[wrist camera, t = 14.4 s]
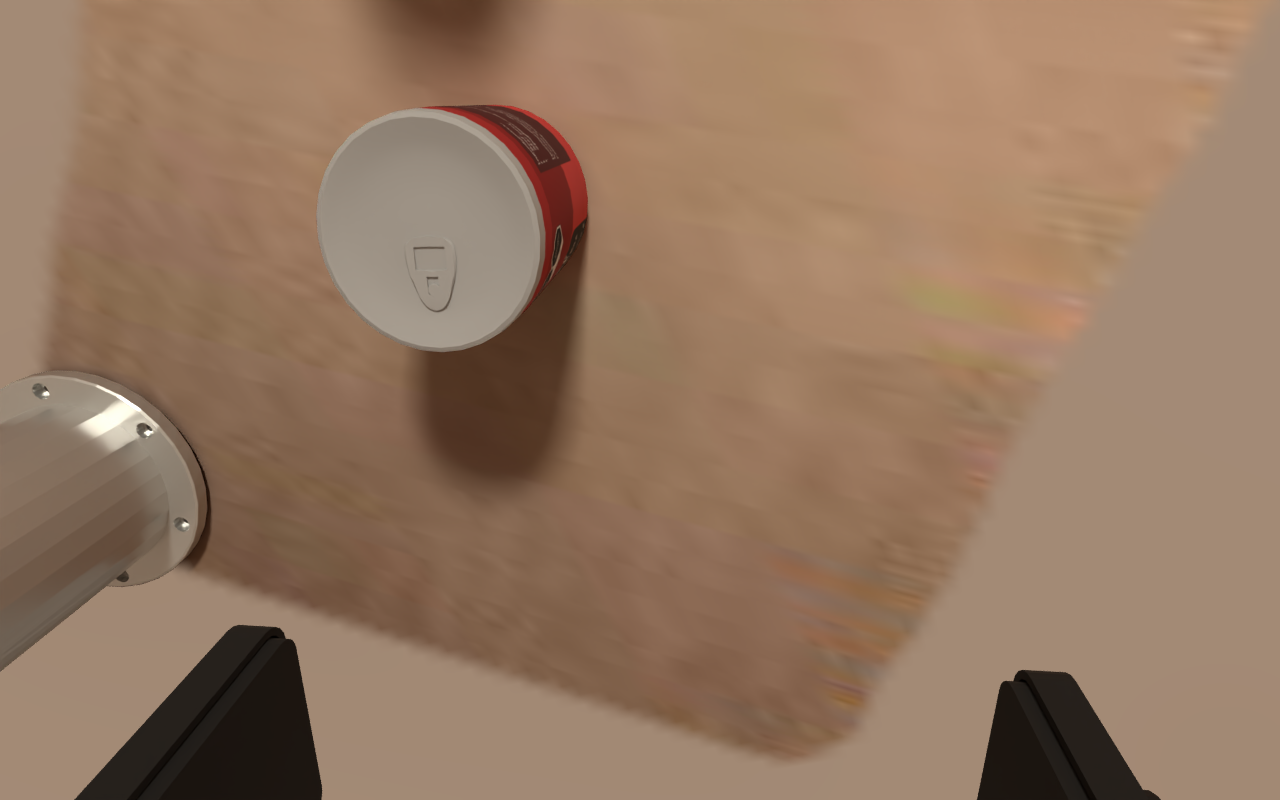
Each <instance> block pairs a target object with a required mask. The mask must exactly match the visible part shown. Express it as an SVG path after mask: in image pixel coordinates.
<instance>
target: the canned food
mask: <svg viewBox="0 0 1280 800" xmlns="http://www.w3.org/2000/svg"><path fill="white" fill-rule="evenodd" d="M587 204H588V197H587V190H586V183H585V179H584V176H583V173H582V170H581V167H580V164H579V161H578V160H577V158H576V156H575V154H574V152H573V150H572V149H571V147H570V145H569V144H568V143H567V142H566V140H565V139H564V138H563V137H562V136H561V134H560V133H559V132H558V131H557V130H556V129H554V128H553V127H552V126H551V125H550V124H549V123H547V122H546V121H545V120H543V119H542V118H540V117H538V116H536V115H534V114H532V113H531V112H529V111H526V110H522V109H519V108H516V107H512V106H501V105H474V106H435V107H423V108H414V109H407V110H400V111H395V112H392V113H390V114H387V115H385V116H382V117H380V118H377V119H375V120H373V121H370V122H368V123H367V124H365V125H364V126H362V127H361V128H360V129H358V130H357V131H355V132H354V133H353V134H351V135H350V136H349V137H348V139H347V140H346V141H345V142H344V143H343V144H342V145H341V146H340V148H339V149H338V150H337V151H336V153H335V154H334V156H333V158H332V160H331V162H330V164H329V165H328V167H327V169H326V171H325V174H324V177H323V180H322V184H321V187H320V190H319V195H318V205H317V215H316V217H317V229H318V240H319V244H320V248H321V252H322V255H323V259H324V263H325V265H326V267H327V269H328V272H329V274H330V276H331V278H332V280H333V283H334V285H335V286H336V288H337V289H338V291H339V292H340V294H341V295H342V297H343V298H344V300H345V301H346V302H347V304H348V305H349V306H350V307H351V308H352V309H353V310H354V311H355V312H356V313H357V314H358V316H359V317H360V318H361V319H362V320H363V321H365V322H366V323H367V324H369V325H370V326H371V327H372V328H374V329H375V330H376V331H378V332H379V333H380V334H382V335H384V336H386V337H388V338H390V339H392V340H394V341H396V342H398V343H400V344H402V345H406V346H409V347H412V348H416V349H419V350H425V351H435V352H448V351H457V350H464V349H467V348H470V347H473V346H476V345H479V344H482V343H484V342H485V341H487V340H489V339H491V338H492V337H494V336H496V335H497V334H499V333H501V332H503V331H504V330H505V329H506V328H508V327H509V326H510V325H511V324H512V323H513V322H514V321H515V320H516V319H517V318H518V317H519V316H520V315H521V314H522V313H523V312H524V311H525V310H526V309H527V308H528V307H529V306H530V305H531V304H532V302H533V301H534V300H535V299H536V298H537V297H538V295H539V294H540V293H541V292H542V291H543V290H544V288H545V287H546V286H547V285H548V284H549V283H550V281H551V280H552V279H553V278H554V277H555V276H556V274H557V273H558V272H559V271H560V270H561V269H562V267H563V266H564V265H565V264H566V263H567V261H568V260H569V259H570V257H571V256H572V254H573V253H574V252H575V250H576V249H577V246H578V244H579V242H580V239H581V237H582V235H583V232H584V228H585V223H586V219H587Z"/></svg>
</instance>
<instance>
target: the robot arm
mask: <svg viewBox="0 0 1280 800" xmlns="http://www.w3.org/2000/svg"><path fill="white" fill-rule="evenodd" d="M206 514H207V497H206V487H205V484H204V480H203V476H202V473H201V469H200V467H199V465H198V463H197V461H196V458H195V456H194V454H193V452H192V450H191V448H190V447H189V445H188V444H187V442H186V441H185V439H184V438H183V437H182V435H181V434H180V432H179V431H178V429H177V428H176V427H175V426H174V425H173V424H172V423H171V422H170V421H169V420H168V419H167V418H166V417H165V416H164V415H163V414H162V412H161V411H159V410H158V409H157V408H155V407H154V406H153V405H152V404H150V403H149V402H148V401H147V400H145V399H144V398H143V397H141V396H140V395H138V394H136V393H135V392H133V391H131V390H129V389H128V388H126V387H124V386H122V385H121V384H118V383H116V382H113V381H110V380H108V379H105V378H103V377H100V376H97V375H92V374H87V373H83V372H78V371H48V372H43V373H37V374H33V375H30V376H28V377H25V378H23V379H20V380H17V381H15V382H13V383H10V384H9V385H7V386H5V387H4V388H2V389H0V671H2V670H3V669H4V668H5V667H7V666H8V665H9V664H10V663H11V662H12V661H14V660H15V659H17V658H18V657H19V656H20V655H21V654H23V653H24V652H25V651H26V650H28V649H29V648H30V647H31V646H33V645H34V644H35V643H36V642H38V641H39V640H40V639H41V638H42V637H44V636H45V635H46V634H47V633H49V632H50V631H51V630H52V629H54V628H55V627H56V626H57V625H59V624H60V623H61V622H62V621H64V620H65V619H66V618H67V617H69V616H70V615H71V614H72V613H73V612H75V611H76V610H77V609H78V608H80V607H81V606H82V605H83V604H85V603H86V602H87V601H88V600H90V599H91V598H92V597H93V596H94V595H96V594H97V593H98V592H100V590H102V589H103V588H105V587H106V586H117V587H125V586H133V585H140V584H144V583H147V582H150V581H152V580H155V579H158V578H160V577H162V576H163V575H165V574H166V573H168V572H169V571H171V570H173V569H174V568H175V567H176V566H177V565H178V564H179V563H181V562H182V561H183V560H184V559H185V558H186V557H187V556H188V555H189V554H190V553H191V551H192V550H193V549H194V547H195V546H196V544H197V543H198V542H199V539H200V537H201V534H202V532H203V529H204V527H205V521H206ZM321 797H322V784H321V780H320V774H319V768H318V763H317V757H316V752H315V747H314V741H313V736H312V730H311V726H310V720H309V714H308V709H307V703H306V698H305V693H304V687H303V683H302V676H301V671H300V666H299V660H298V655H297V649H296V646H295V643H294V642H293V640H291V639H286V638H285V635H284V632H282V630H281V629H280V628H277V627H265V626H247V625H237V626H234V627H232V628H231V629H230V630H228V631H227V632H226V633H225V634H224V636H223V637H222V638H221V639H220V640H219V641H218V642H217V643H216V644H215V646H214V647H213V648H212V649H211V650H210V651H209V652H208V653H207V654H206V655H205V657H204V658H203V659H202V660H201V661H200V662H199V663H198V664H197V665H196V666H195V668H194V669H193V670H192V671H191V672H190V673H189V674H188V675H187V676H186V677H185V679H184V680H183V681H182V682H181V683H180V684H179V685H178V686H177V687H176V689H175V690H174V691H173V692H172V693H171V694H170V695H169V696H168V697H167V698H166V700H165V701H164V702H163V703H162V704H161V705H160V706H159V707H158V708H157V709H156V711H155V712H154V713H153V714H152V715H151V716H150V717H149V718H148V719H147V720H146V722H145V723H144V724H143V725H142V726H141V727H140V728H139V729H138V730H137V731H136V733H135V734H134V735H133V736H132V737H131V738H130V739H129V740H128V741H127V742H126V744H125V745H124V746H123V747H122V748H121V749H120V750H119V751H118V752H117V753H116V755H115V756H114V757H113V758H112V759H111V760H110V761H109V762H108V763H107V765H106V766H105V767H104V768H103V769H102V770H101V771H100V772H99V773H98V774H97V776H96V777H95V778H94V779H93V780H92V781H91V782H90V783H89V784H88V785H87V787H86V788H85V789H84V790H83V791H82V792H81V793H80V794H79V795H78V796H77V798H76V799H75V800H321ZM977 800H1161V799H1160V798H1159V797H1158V796H1157V795H1155V794H1154V793H1152V792H1151V791H1149V790H1143V789H1142V788H1141V786H1140V784H1139V783H1138V781H1137V780H1136V778H1135V776H1134V775H1133V773H1132V771H1131V770H1130V768H1129V767H1128V765H1127V763H1126V762H1125V760H1124V759H1123V757H1122V755H1121V754H1120V752H1119V751H1118V749H1117V747H1116V746H1115V744H1114V742H1113V741H1112V739H1111V737H1110V736H1109V734H1108V733H1107V731H1106V729H1105V728H1104V726H1103V725H1102V723H1101V721H1100V720H1099V718H1098V716H1097V715H1096V713H1095V712H1094V710H1093V708H1092V707H1091V705H1090V704H1089V702H1088V700H1087V699H1086V697H1085V695H1084V694H1083V692H1082V691H1081V689H1080V687H1079V686H1078V684H1077V682H1076V681H1075V680H1074V679H1073V677H1072V676H1071V675H1070V674H1068V673H1066V672H1047V671H1031V670H1021V671H1018V672H1017V674H1016V675H1015V678H1014V681H1004V682H1003V683H1002V684H1001V686H1000V689H999V694H998V699H997V704H996V709H995V714H994V719H993V724H992V729H991V734H990V738H989V743H988V748H987V753H986V758H985V763H984V768H983V773H982V778H981V783H980V788H979V793H978V798H977Z"/></svg>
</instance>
